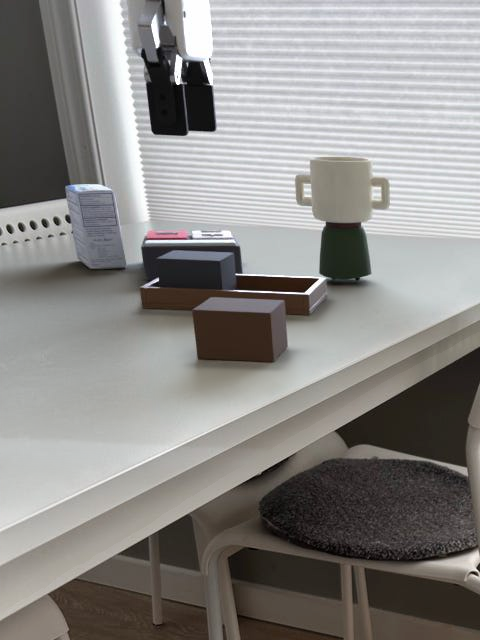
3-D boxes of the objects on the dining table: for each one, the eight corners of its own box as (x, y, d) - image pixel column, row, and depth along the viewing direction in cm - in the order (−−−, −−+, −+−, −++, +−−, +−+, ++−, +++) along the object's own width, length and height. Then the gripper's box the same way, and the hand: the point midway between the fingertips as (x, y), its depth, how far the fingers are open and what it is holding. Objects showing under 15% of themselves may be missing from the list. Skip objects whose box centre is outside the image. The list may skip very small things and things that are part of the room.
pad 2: (197, 359, 80) (191, 309, 78) (215, 343, 85) (210, 296, 83) (273, 362, 80) (270, 313, 78) (287, 346, 84) (284, 299, 82)
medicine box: (127, 268, 115) (116, 190, 111) (89, 270, 113) (75, 190, 109) (113, 258, 121) (101, 183, 117) (76, 260, 119) (63, 184, 115)
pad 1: (161, 299, 98) (155, 258, 96) (178, 289, 103) (173, 250, 101) (223, 302, 98) (219, 260, 96) (237, 292, 102) (233, 252, 100)
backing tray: (141, 308, 96) (139, 287, 95) (172, 290, 105) (169, 271, 104) (310, 315, 96) (308, 294, 95) (327, 296, 104) (326, 277, 103)
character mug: (395, 277, 116) (394, 158, 109) (385, 288, 110) (383, 162, 103) (307, 273, 116) (301, 154, 110) (293, 283, 110) (285, 158, 104)
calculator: (233, 228, 122) (239, 238, 109) (236, 264, 124) (243, 278, 111) (143, 228, 119) (139, 239, 106) (148, 265, 121) (145, 280, 108)
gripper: (151, -81, 88) (173, 128, 97) (79, -116, 73) (114, 135, 82) (231, -77, 88) (247, 131, 97) (176, -111, 73) (200, 139, 82)
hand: (186, 133), depth 89 cm, fingers open, 9 cm apart
